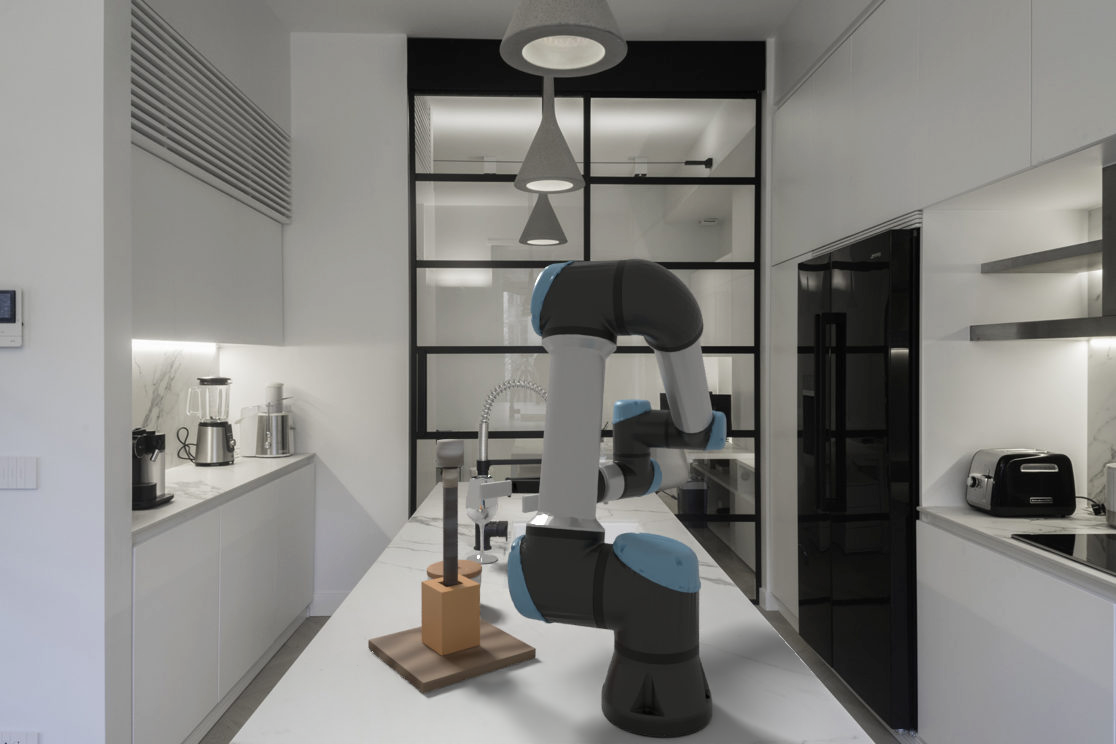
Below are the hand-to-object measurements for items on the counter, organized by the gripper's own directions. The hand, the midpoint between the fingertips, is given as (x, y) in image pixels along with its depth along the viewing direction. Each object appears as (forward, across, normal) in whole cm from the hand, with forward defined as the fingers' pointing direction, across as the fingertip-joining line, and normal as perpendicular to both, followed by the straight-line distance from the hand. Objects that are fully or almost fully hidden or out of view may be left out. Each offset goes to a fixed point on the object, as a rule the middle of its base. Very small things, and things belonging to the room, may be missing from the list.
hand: (500, 497), depth 122 cm
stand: (+10, 0, -24) cm, 26 cm away
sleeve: (+10, 0, -23) cm, 25 cm away
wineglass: (-23, +44, -25) cm, 55 cm away
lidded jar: (-1, +19, -25) cm, 31 cm away
